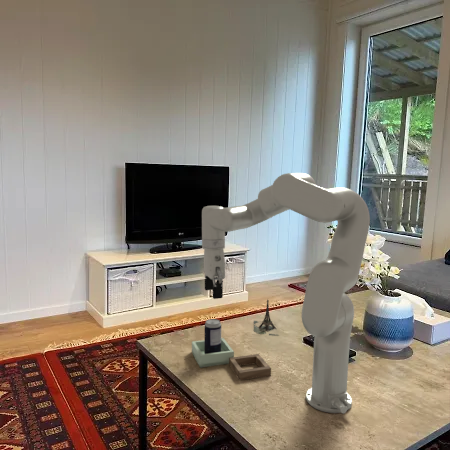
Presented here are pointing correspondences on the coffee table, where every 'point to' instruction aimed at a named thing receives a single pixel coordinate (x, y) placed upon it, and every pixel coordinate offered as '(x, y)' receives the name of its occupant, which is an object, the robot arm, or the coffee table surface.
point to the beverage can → (212, 336)
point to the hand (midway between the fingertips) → (213, 293)
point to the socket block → (249, 373)
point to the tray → (211, 354)
